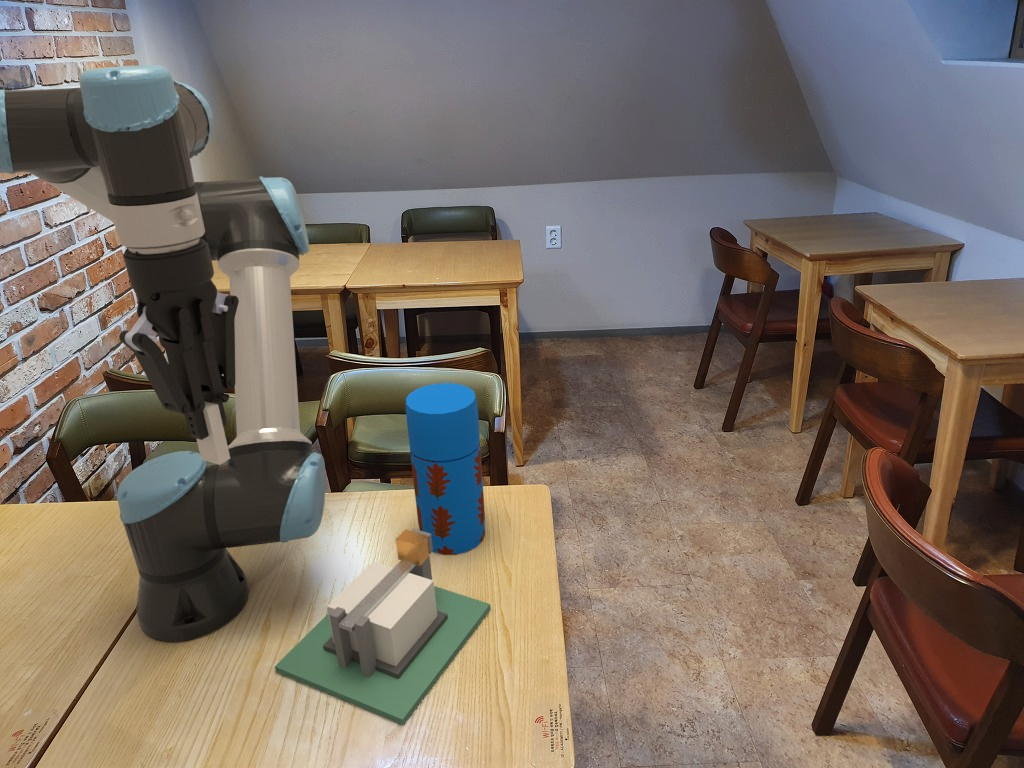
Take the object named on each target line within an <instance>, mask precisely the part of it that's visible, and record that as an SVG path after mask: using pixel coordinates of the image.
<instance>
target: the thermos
mask: <svg viewBox="0 0 1024 768" xmlns="http://www.w3.org/2000/svg"><path fill="white" fill-rule="evenodd" d="M475 393H476V392H475V391H474V389H472V388H470V386H466V385H463V384H460V383H452V382H444V383H441V382H439V383H433V384H427V385H425V386H422V387H419V388H416V389H415V390H413V391H412V392H410V393H409V394H408V396H407V397H406V398H405V416H406V425H407V433H408V442H409V443H408V445H409V452H410V461H411V472H412V480H413V488H414V497H415V499H414V500H415V504H416V515H417V523H418V528H419V529H418V530H420V531H423V532H427V533H430V534H431V537H432V546H433V552H432V553H434V554H438V555H443V556H444V555H445V556H449V555H453V556H455V555H460V554H464V553H468V552H469V551H472V550H473V549H476V548H477V547H478V546H479V545H480V544H481V543H482V542H483V540H484V538H485V534H486V513H485V512H486V511H485V496H484V494H485V493H484V481H483V466H482V465H483V464H482V451H481V438H480V423H479V421H480V419H479V409H478V407H479V406H478V404H477V398H476V394H475Z"/></svg>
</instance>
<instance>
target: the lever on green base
mask: <svg viewBox="0 0 1024 768" xmlns="http://www.w3.org/2000/svg"><path fill="white" fill-rule="evenodd" d="M410 531H413V532H416V533H420V534H423V535H427V538H428V548H429V557H428V558H427V559H426V560H425V561H424V562H423V564H422V565H421V566H418V565H416V566H415V567H414V568H413V569H412V570H411V571H410V572H409V573H408V574H407V575H406V576H405V577H404V578H403V579H402V580H401V581H400V582H399V583H398V584H397V586H396V587H395V588H394V589H393V590H392V591H391V592H390V593H389V594H388V595H387V596H386V597H385V598H384V599H383V600H382V601H381V602H380V603H379V604H378V605H377V607H376V608H375V609H374V610H373V611H372V612H371V613H370V614H369V615H368V616H367V617H365V616H361V617H360V618H359V619H358V620H357V621H356V622H355V623H354V628H355V630H354V631H353V632H351V631H348V630H345V629H343V628H340V627H339V623H340V622H341V621H342V620H343V619H344V618H345V617H346V616H347V615H348V614H349V613H350V612H351V611H352V610H353V609H354V608H355V606H356V605H357V604H358V603H359V602H360V601H361V600H362V599H363V598H364V597H365V596H366V595H367V594H368V593H369V592H370V591H371V590H372V589H373V588H374V587H375V586H376V585H377V584H378V583H379V582H380V581H381V580H382V579H383V578H384V577H385V576H386V575H387V574H388V573H389V572H390V571H391V570H392V569H393V568H394V567H393V566H388V565H385V564H382V563H379V562H375V561H372V562H371V563H370V564H368V566H367V567H366V568H364V570H362V571H361V573H359V574H358V576H356V577H355V578H354V579H353V580H352V581H351V582H350V583H349V585H347V586H346V587H345V588H344V589H343V590H342V591H341V592H340V593H339V594H338V595H337V596H336V597H335V598H334V599H333V600H332V601H331V602H329V604H327V606H326V609H327V614H326V615H325V616H324V617H322V619H321V620H320V621H319V622H318V623H317V624H316V625H314V627H313V628H312V629H310V631H309V632H308V633H306V634H305V636H304V637H303V638H301V640H299V642H298V643H297V644H295V646H293V648H292V649H291V650H289V652H287V653H286V654H285V656H283V658H282V659H281V660H279V662H277V663H276V665H274V669H275V673H277V674H280V675H282V676H284V677H287V678H289V679H291V680H294V681H296V682H298V683H301V684H304V685H305V686H308V687H311V688H313V689H315V690H318V691H320V692H323V693H324V694H327V695H330V696H332V697H334V698H337V699H339V700H342V701H344V702H345V703H346V702H347V703H348V704H351V705H353V706H356V707H358V708H360V709H363V710H366V711H368V712H370V713H372V714H375V715H377V716H380V717H382V718H384V719H387V720H389V721H392V722H395V724H398V725H400V726H401V725H402V726H405V724H406V723H407V721H408V720H409V719H410V717H412V715H413V713H414V712H415V711H416V709H417V708H418V707H419V705H420V704H421V702H423V700H424V699H425V697H426V696H427V695H428V693H429V692H430V690H432V688H433V687H434V685H435V684H436V683H437V682H438V680H439V679H440V677H441V676H442V675H443V673H444V672H445V671H446V669H447V668H448V667H449V665H450V664H451V663H452V662H453V660H454V659H455V658H456V656H457V655H458V654H459V652H460V651H461V650H462V648H463V647H464V646H465V644H466V643H467V641H468V640H469V639H470V638H471V637H472V635H473V634H474V633H475V631H476V630H477V628H478V627H479V626H480V625H481V623H482V621H483V620H484V619H485V617H486V616H487V615H488V614H489V612H490V611H491V609H492V607H491V603H489V602H486V601H482V600H479V599H475V598H472V597H470V596H467V595H464V594H460V593H458V592H454V591H450V590H448V589H444V588H442V587H438V586H435V581H434V580H433V576H432V573H433V572H432V565H431V556H430V555H431V554H432V553H434V552H433V546H432V537H431V534H430V533H427V532H423V531H420V530H419V529H416V528H413V529H411V530H410Z"/></svg>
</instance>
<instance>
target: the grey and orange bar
mask: <svg viewBox="0 0 1024 768" xmlns="http://www.w3.org/2000/svg"><path fill="white" fill-rule="evenodd" d="M395 542H396V545H395V546H396V553H397V558H398V560H399V562H398V563H397V564H396V565H395V566H394V567H392V568H393V569H392V570H391V571H390V572H389V573H388V574H387V575H386V576H385V577H384V578H383V579H382V580H381V581H380V582H379V583H378V584H377V585H376V586H375V587H374V588H373V589H372V590H371V591H370V592H369V593H368V594H367V595H366V596H365V597H364V598H363V599H362V600H361V601H360V602H359V603H358V604H357V605H356V606H355V608H354V609H353V610H352V611H351V612H350V613H349V614H348V615H347V616H346V617H345V618H344V619H343V620H342V621H341V622H340V623H339V627H340V628H343V629H345V630H348V631H351V632H353V631H354V630H355V628H354V623H355V622H356V621H357V620H358V619H359V618H360V617H361V616H365V617H367V616H368V615H369V614H370V613H371V612H372V611H373V610H374V609H375V608H376V607H377V605H378V604H379V603H380V602H381V601H382V600H383V599H384V598H385V597H386V596H387V595H388V594H389V593H390V592H391V591H392V590H393V589H394V588H395V587H396V586H397V584H398V583H399V582H400V581H401V580H402V579H403V578H404V577H405V576H406V575H407V574H408V573H409V572H410V571H411V570H412V569H413V568H414V567H415V566H416V565H418V566H421V565H422V564H423V562H424V561H425V560H426V559H427V558H428V557H429V555H430V554H429V548H428V538H427V535H423V534H420V533H416V532H413V531H411V530H410V529H404V530H403V532H401V533H400V534H399V535H398V536H396V538H395Z"/></svg>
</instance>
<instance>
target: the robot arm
mask: <svg viewBox="0 0 1024 768" xmlns="http://www.w3.org/2000/svg"><path fill="white" fill-rule="evenodd" d="M79 77H80V78H79V87H73V88H71V87H69V88H65V87H64V88H47V89H46V88H43V89H42V88H41V89H39V88H38V89H20V90H18V89H17V90H6V89H0V174H10V175H13V174H14V175H15V174H16V173H30V174H31V175H33V176H35V177H36V178H39V179H40V180H41V181H43V182H45V183H47V184H48V185H51V186H52V187H54V188H55V189H57V190H59V191H60V192H61V193H64V194H66V195H67V196H69V197H71V198H72V199H74V200H75V201H76V202H78V203H80V204H81V205H82V204H83V206H85V207H88V209H90V210H92V211H94V212H96V213H97V214H98V215H100V216H102V217H103V218H105V219H107V220H109V221H110V222H112V223H113V225H114V227H115V230H116V231H115V232H116V236H117V238H118V243H119V244H120V245H121V246H123V247H125V248H126V249H125V251H124V252H123V253H122V257H123V261H124V265H125V267H126V272H127V275H128V279H129V283H130V286H131V287H132V289H133V291H134V293H135V295H136V296H137V307H136V315H137V317H138V318H137V320H136V322H135V323H134V325H133V326H132V328H131V329H130V330H122V331H121V332H120V334H119V336H118V337H119V340H120V342H121V344H122V345H124V346H125V347H127V348H128V349H129V350H130V351H132V352H133V354H134V355H135V357H136V360H137V361H138V363H139V365H140V367H141V368H142V371H143V372H144V374H145V377H146V378H147V380H148V381H149V383H150V385H151V387H152V390H153V391H154V393H155V394H156V396H157V398H158V400H159V402H160V403H161V405H162V407H163V409H164V410H166V411H168V412H169V411H170V412H172V413H178V414H182V415H184V417H185V422H186V425H187V429H188V434H189V435H190V437H191V438H193V439H196V443H197V447H198V451H199V452H195V451H191V450H179V451H174V452H170V453H166V454H165V453H164V454H163V455H159V456H158V457H157V456H156V457H154V458H152V459H149V460H147V461H146V462H144V463H142V464H140V465H139V466H137V467H136V468H134V469H133V470H132V471H130V472H129V473H128V474H127V475H126V476H125V477H124V478H123V479H122V481H121V482H120V484H119V486H118V487H117V491H116V498H117V503H118V508H119V513H120V514H119V518H120V521H121V522H122V524H123V527H124V530H125V533H126V536H127V540H128V543H129V546H130V548H131V551H132V555H133V558H134V561H135V565H136V567H137V570H138V574H139V582H138V591H137V592H138V593H137V594H138V595H137V596H138V597H137V603H136V615H137V618H138V621H139V625H140V628H141V629H143V630H142V631H143V632H144V633H145V634H146V635H147V636H149V637H150V638H152V639H155V640H158V641H162V642H184V641H190V640H195V639H197V638H201V637H204V636H207V635H209V634H212V633H214V632H216V631H218V630H219V629H221V628H223V627H225V626H226V625H227V624H229V623H230V622H232V621H233V620H234V619H235V618H236V617H237V616H238V615H239V614H240V613H241V612H242V610H243V609H244V608H245V606H246V604H247V602H248V600H249V596H250V588H249V584H248V579H247V575H246V574H245V572H244V570H243V569H242V568H241V566H240V565H239V564H238V562H237V561H236V559H234V557H233V556H232V554H231V553H230V551H229V550H228V549H229V548H239V547H240V548H241V547H248V546H249V547H250V546H255V545H257V546H258V545H265V544H273V543H274V544H275V543H283V544H284V543H288V542H289V541H294V540H300V539H307V538H310V537H311V536H313V535H315V534H316V533H317V531H318V530H319V527H320V526H321V522H322V519H323V515H324V507H325V500H326V483H327V482H326V473H325V472H326V469H325V468H326V465H325V459H324V457H323V455H322V454H321V453H317V452H316V451H315V452H313V443H312V441H311V440H310V439H309V438H308V437H306V436H305V435H304V434H303V433H302V432H301V429H300V428H301V427H300V410H299V397H298V383H297V379H298V378H297V368H296V367H297V366H296V365H297V364H296V351H295V350H296V348H295V335H294V334H295V333H294V320H293V306H292V304H293V303H292V290H291V276H292V275H294V274H295V273H296V272H297V271H298V270H299V268H300V255H301V256H304V255H305V254H308V253H309V252H310V246H309V245H310V244H309V237H308V232H307V226H306V223H305V220H304V215H303V212H302V207H301V205H300V201H299V197H298V194H297V192H296V189H295V187H294V185H293V183H292V182H291V181H290V180H289V179H287V178H285V177H280V176H279V177H278V176H277V177H264V176H262V175H261V176H258V178H257V177H255V178H244V179H243V178H242V179H228V180H227V179H224V180H210V181H195V177H194V173H193V168H192V163H191V159H193V157H194V156H195V157H196V156H198V155H199V154H201V153H202V152H203V150H205V148H206V147H207V145H208V143H209V141H210V140H211V138H212V136H213V132H214V127H215V126H214V124H215V123H214V122H215V121H214V115H213V112H212V109H211V106H210V104H209V102H208V101H207V99H206V98H205V96H203V95H202V94H201V93H200V92H199V91H198V90H197V89H195V88H194V87H192V86H191V85H189V84H186V83H184V82H180V81H176V80H173V77H172V74H171V72H170V71H169V70H168V68H166V67H165V66H163V65H158V64H144V65H143V64H142V65H122V66H109V67H108V66H107V67H97V68H96V67H95V68H89V69H87V70H84V71H83V72H82V73H81V75H80V76H79ZM213 261H217V267H218V269H219V270H220V272H222V273H223V274H224V275H225V276H227V277H228V278H229V294H227V293H222V292H219V291H218V289H217V286H216V284H215V283H214V282H213V280H212V279H213V277H214V275H215V271H214V265H213ZM154 333H156V335H157V336H158V338H157V336H156V335H154ZM158 340H159V344H160V345H161V347H162V348H163V349H164V350H165V351H164V352H165V354H166V356H165V354H164V352H163V350H161V349H162V348H161V347H160V346H159V345H158V344H157V343H156V342H157V341H158ZM233 388H234V399H235V401H234V402H235V404H234V405H235V418H236V420H235V422H236V437H235V438H234V440H232V441H231V443H230V444H229V445H228V442H227V438H226V434H225V428H224V427H226V426H227V417H226V412H225V407H224V404H225V403H227V402H229V399H230V394H228V393H226V392H227V391H228V390H232V389H233ZM207 462H208V463H212V464H208V463H207Z"/></svg>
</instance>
